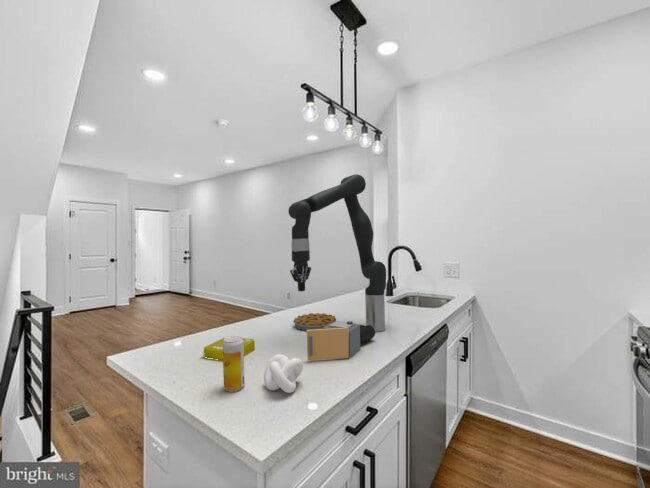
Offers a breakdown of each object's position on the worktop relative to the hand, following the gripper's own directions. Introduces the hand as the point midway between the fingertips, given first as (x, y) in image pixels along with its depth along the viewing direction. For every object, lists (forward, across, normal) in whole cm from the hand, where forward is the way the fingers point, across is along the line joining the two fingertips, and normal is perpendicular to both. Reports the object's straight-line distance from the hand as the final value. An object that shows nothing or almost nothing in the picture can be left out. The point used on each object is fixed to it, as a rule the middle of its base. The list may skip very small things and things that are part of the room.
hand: (301, 290), depth 128 cm
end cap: (+23, -14, +21) cm, 34 cm away
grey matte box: (+23, -1, +18) cm, 29 cm away
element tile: (+24, +20, -22) cm, 38 cm away
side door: (+23, +9, +17) cm, 30 cm away
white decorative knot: (+23, +34, +15) cm, 44 cm away
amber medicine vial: (+23, +40, +1) cm, 46 cm away
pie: (+24, -27, -10) cm, 37 cm away
